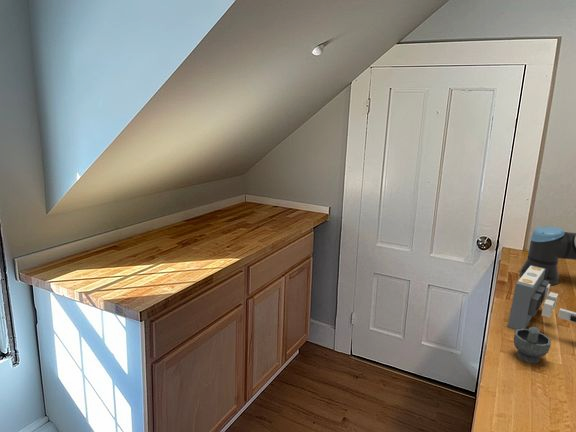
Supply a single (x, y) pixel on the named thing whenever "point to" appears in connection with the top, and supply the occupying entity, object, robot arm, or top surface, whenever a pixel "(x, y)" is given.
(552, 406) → the top surface
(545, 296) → the button
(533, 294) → the button panel
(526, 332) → the mortar and pestle
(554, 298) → the button middle
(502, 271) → the top surface
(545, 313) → the button
